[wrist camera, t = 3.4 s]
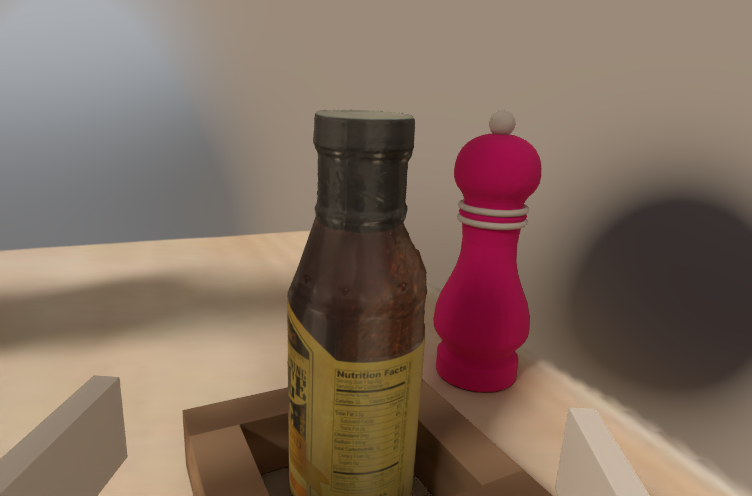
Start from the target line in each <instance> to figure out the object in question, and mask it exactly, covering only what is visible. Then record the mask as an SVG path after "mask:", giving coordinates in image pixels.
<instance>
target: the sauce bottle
mask: <svg viewBox="0 0 752 496" xmlns="http://www.w3.org/2000/svg"><path fill="white" fill-rule="evenodd" d="M314 121H315V123H314V124H315V126H314V137H313V143H314V145H315V149H316V150H317V152H318V191H317V195H318V197H317V204H316V206H315V212H316V217H315V220H314V223H313V227H312V229H311V232H310V234H309V237H308V240H307V243H306V246H305V249H304V251H303V254H302V257H301V260H300V263H299V266H298V268H297V271H296V273H295V276H294V278H293V281H292V283H291V286H290V288H289V291H288V402H289V486H290V493H291V496H411V493H412V488H413V474H414V462H415V451H416V439H417V428H418V416H419V404H420V392H421V380H422V368H423V356H424V343H425V324H424V313H425V311H424V307H425V299H426V295H427V286H426V269H425V266H424V264H423V261H422V259H421V256H420V252H419V250H417V249H415V246H414V245H413V243H412V242H411V239H410V237H409V233H408V232H407V230H406V228H405V226H404V223H403V222H404V220H405V218H406V213H407V205H406V203H405V199H406V186H407V169H408V161H409V159H410V158H411V156H412V151H413V148H414V132H415V120H414V118H413V116H412V115H408V114H403V113H392V112H383V111H364V110H321V111H317V112H316V114H315V118H314Z"/></svg>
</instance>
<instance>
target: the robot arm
mask: <svg viewBox="0 0 752 496" xmlns="http://www.w3.org/2000/svg"><path fill="white" fill-rule="evenodd" d="M126 458H127V447H126V437H125V428H124V418H123V408H122V398H121V389H120V379H119V377H107V376H93V377H92V378H91V379H90V380H88V381H87V382H86V383H85V384H84V385H83V386H82V387H81V388H79V389H78V390H77V391H76V392H75V393H74V394H73V395H72V396H71V397H69V398H68V399H67V400H66V401H65V402H64V403H63V404H62V405H60V406H59V407H58V408H57V409H56V410H55V411H54V412H53V413H51V414H50V415H49V416H48V417H47V418H46V419H45V420H44V421H42V422H41V423H40V424H39V425H38V426H37V427H36V428H35V429H34V430H32V431H31V432H30V433H29V434H28V435H27V436H26V437H25V438H23V439H22V440H21V441H20V442H19V443H18V444H17V445H16V446H14V447H13V448H12V449H11V450H10V451H9V452H8V453H7V454H6V455H4V456H3V457H2V458H1V459H0V496H97V495H98V494H99V493H100V492H101V490H102V489H103V488H104V486H105V485H106V484H107V483H108V481H109V480H110V479H111V477H112V476H113V475H114V473H115V472H116V471H117V470H118V468H119V467H120V466H121V464H122V463H123V462H124V461H125V459H126ZM555 488H556V491H557V493H558V496H650V495H649V493H648V492H647V490H646V488H645V487H644V485H643V484H642V482H641V480H640V479H639V477H638V476H637V474H636V472H635V471H634V469H633V468H632V466H631V464H630V463H629V461H628V460H627V458H626V456H625V455H624V453H623V452H622V450H621V448H620V447H619V445H618V444H617V442H616V440H615V439H614V437H613V436H612V434H611V432H610V431H609V429H608V428H607V426H606V424H605V423H604V421H603V420H602V418H601V416H600V415H599V413H598V412H597V410H596V409H588V408H573V407H569V409H568V415H567V420H566V426H565V432H564V438H563V444H562V450H561V456H560V462H559V468H558V474H557V480H556V486H555Z"/></svg>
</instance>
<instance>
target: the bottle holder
mask: <svg viewBox="0 0 752 496" xmlns="http://www.w3.org/2000/svg"><path fill="white" fill-rule="evenodd" d="M182 411H183V426H184V441H185V456H186V466H187V470H188V474H189V479H190V483H191V487H192V491H193V495H194V496H269V493H268V491H267V489H266V486H265V484H264V482H263V479H262V477H261V475H260V474H263V473H267V472H270V471H274V470H277V469H281V468H284V467H288V466H289V402H288V387H287V388H283V389H278V390H274V391H269V392H265V393H260V394H255V395H251V396H246V397H242V398H237V399H232V400H228V401H223V402H219V403H214V404H209V405H205V406H200V407H196V408H191V409H187V410H182ZM414 473H415V474H416V476H417V477H418V478H419V479H420V480H421V482H422V483H423V484H424V485H425V486H426V488H427V489H428V490H429V491H430V493H431V494H432V495H433V496H552V495H551V494H550V493H549V492H548V491H546V490H545V489H544V488H543V487H542V486H541V485H540V484H539V483H538V482H536V481H535V480H534V479H533V478H532V477H531V476H530V475H529V474H527V473H526V472H525V471H524V470H523V469H522V468H521V467H520V466H519V465H517V464H516V463H515V462H514V461H513V460H512V459H511V458H510V457H508V456H507V455H506V454H505V453H504V452H503V451H502V450H501V449H500V448H498V447H497V446H496V445H495V444H494V443H493V442H492V441H491V440H490V439H488V438H487V437H486V436H485V435H484V434H483V433H482V432H481V431H479V430H478V429H477V428H476V427H475V426H474V425H473V424H472V423H471V422H469V421H468V420H467V419H466V418H465V417H464V416H463V415H462V414H461V413H459V412H458V411H457V410H456V409H455V408H454V407H453V406H452V405H450V404H449V403H448V402H447V401H446V400H445V399H444V398H443V397H442V396H440V395H439V394H438V393H437V392H436V391H435V390H434V389H433V388H431V387H430V386H429V385H428V384H427V383H426V382H425V381H424V380H423V379H422V380H421V392H420V404H419V416H418V428H417V439H416V451H415V462H414Z"/></svg>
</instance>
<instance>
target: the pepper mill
mask: <svg viewBox="0 0 752 496" xmlns="http://www.w3.org/2000/svg"><path fill="white" fill-rule="evenodd" d="M489 127H490V130H491V132H492V133H493V134H486V135H482V136H479V137H476V138H474V139H472V140H471V141H469V142H468V143H467V144H466V145H465V146H464V147H463V148H462V149H461V151H460V152H459V154H458V156H457V159H456V162H455V168H454V178H455V182H456V184H457V186H458V187H459V189H460V190H461V192H462V193H463V196H464V199H463V200H461V201H460V202H459V203H458V206H459V208H460V209H459V214H458V215H457V219H458V220H459V221H460V222H461V223H462V230H463V231H462V234H463V238H462V245H461V252H460V255H459V258H458V261H457V264H456V266H455V268H454V270H453V272H452V274H451V276H450V277H449V279H448V281H447V283H446V284H445V286H444V288H443V289H442V291H441V293H440V296H439V298H438V301H437V303H436V307H435V313H434V318H433V321H434V327H435V329H436V332H437V333H438V335H439V336H440V338H441V339H442V340H443V341H442V342H441V343H440V344H439V345H438V348H437V358H436V369H437V372H438V373H439V375H440V376H441V377H442V378H443V379H444V380H446V381H447V382H448V383H450V384H452V385H454V386H457V387H459V388H462V389H465V390H470V391H476V392H496V391H500V390H503V389H506V388H508V387H510V386H511V385H512V384H513V383H514V382H515V380H516V375H517V368H518V355H517V354H516V352H515V350H517V349H518V348H519V347H520V346H521V345H522V344H523V343H524V342H525V341H526V339H527V337H528V334H529V325H530V315H529V309H528V304H527V300H526V297H525V295H524V292H523V289H522V286H521V283H520V279H519V275H518V270H517V263H516V256H517V243H518V239H519V234H520V229H521V228H523V227H525V226H526V225H527V223H528V221H527V219H526V218H527V215H526V214H527V213H528V212H529V207H528V206H527V205H525V204H524V203H525V201H526V199H527V198H528V197H529V196H530V195H531V194H532V193H534V191H535V190H536V189H537V187H538V185H539V184H540V179H541V161H540V157H539V155H538V153H537V151H536V149H535V148H534V147H533V146H532V145H531V144H530V143H528V142H527V141H526V140H524V139H522V138H520V137H517V136H514V135H509V134H510V133H511V132H512V131H513V130H514V128H515V118H514V116H513V115H512V114H511V113H510V112H508V111H505V110H503V111H502V110H501V111H498V112H496V113H494V114H493V115H492V117H491V118H490V122H489Z"/></svg>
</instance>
